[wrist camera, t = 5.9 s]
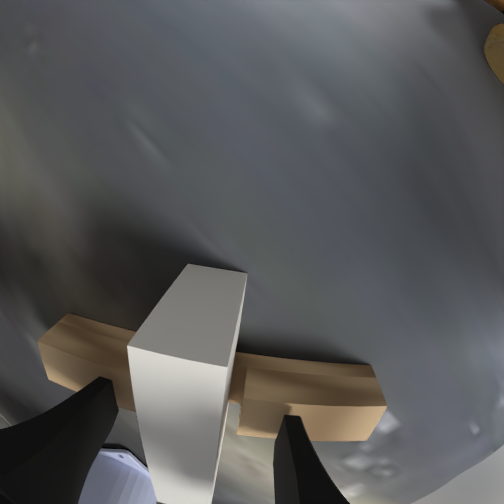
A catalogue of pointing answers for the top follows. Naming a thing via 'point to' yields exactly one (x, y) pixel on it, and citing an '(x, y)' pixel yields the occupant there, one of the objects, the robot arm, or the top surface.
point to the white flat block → (187, 380)
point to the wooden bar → (242, 382)
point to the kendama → (496, 44)
